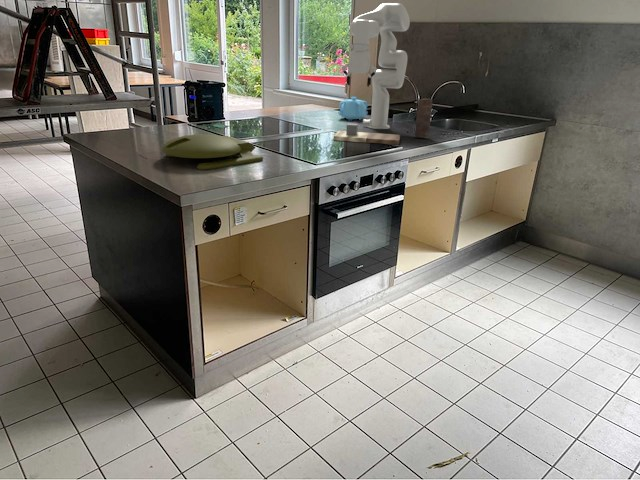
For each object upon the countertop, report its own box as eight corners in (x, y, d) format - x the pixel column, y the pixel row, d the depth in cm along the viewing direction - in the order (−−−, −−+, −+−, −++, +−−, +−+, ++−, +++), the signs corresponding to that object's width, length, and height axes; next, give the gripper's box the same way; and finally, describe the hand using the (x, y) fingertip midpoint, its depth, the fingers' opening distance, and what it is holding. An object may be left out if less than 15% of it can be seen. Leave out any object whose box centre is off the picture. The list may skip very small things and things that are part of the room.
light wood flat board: (333, 140, 239) (333, 136, 238) (338, 134, 254) (338, 130, 253) (398, 144, 234) (399, 140, 234) (399, 138, 249) (400, 134, 248)
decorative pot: (344, 122, 293) (345, 99, 288) (332, 117, 309) (333, 95, 304) (373, 121, 300) (375, 98, 294) (360, 116, 316) (361, 95, 311)
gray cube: (346, 134, 243) (346, 124, 241) (347, 133, 247) (348, 123, 245) (356, 135, 242) (356, 125, 240) (357, 133, 246) (357, 123, 244)
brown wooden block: (419, 139, 248) (424, 99, 240) (411, 137, 254) (415, 97, 246) (431, 138, 251) (436, 99, 244) (422, 136, 257) (427, 97, 250)
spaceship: (224, 148, 215) (223, 126, 212) (266, 161, 195) (265, 137, 191) (149, 158, 193) (146, 133, 190) (186, 175, 173) (184, 147, 169)
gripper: (341, 47, 228) (339, 85, 235) (378, 49, 225) (375, 87, 232) (344, 47, 235) (342, 84, 241) (379, 49, 232) (376, 86, 238)
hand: (358, 85), depth 237 cm, fingers open, 9 cm apart
